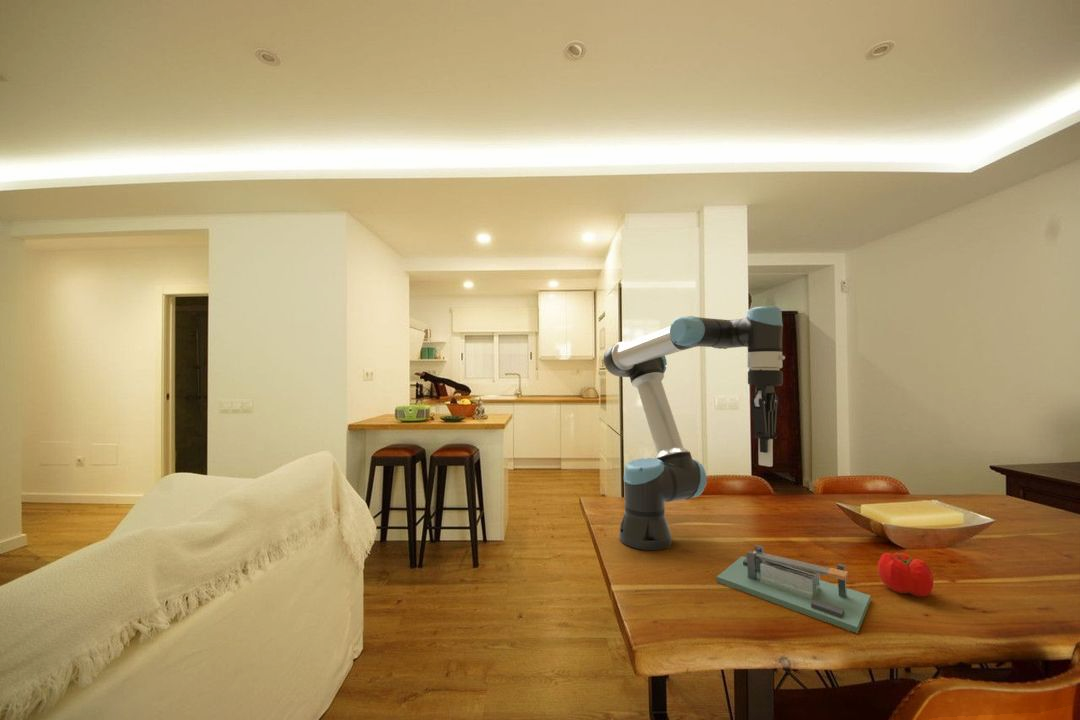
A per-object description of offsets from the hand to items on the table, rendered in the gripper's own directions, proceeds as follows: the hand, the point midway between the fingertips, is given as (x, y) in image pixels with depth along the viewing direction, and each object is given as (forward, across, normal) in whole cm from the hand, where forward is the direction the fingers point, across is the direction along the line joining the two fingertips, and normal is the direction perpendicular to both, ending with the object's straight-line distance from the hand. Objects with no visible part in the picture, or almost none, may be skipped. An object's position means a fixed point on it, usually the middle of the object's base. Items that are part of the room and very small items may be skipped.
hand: (765, 465), depth 95 cm
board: (+27, -4, -6) cm, 28 cm away
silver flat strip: (+21, -4, -7) cm, 22 cm away
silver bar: (+25, -4, -7) cm, 27 cm away
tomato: (+27, +15, -24) cm, 39 cm away
